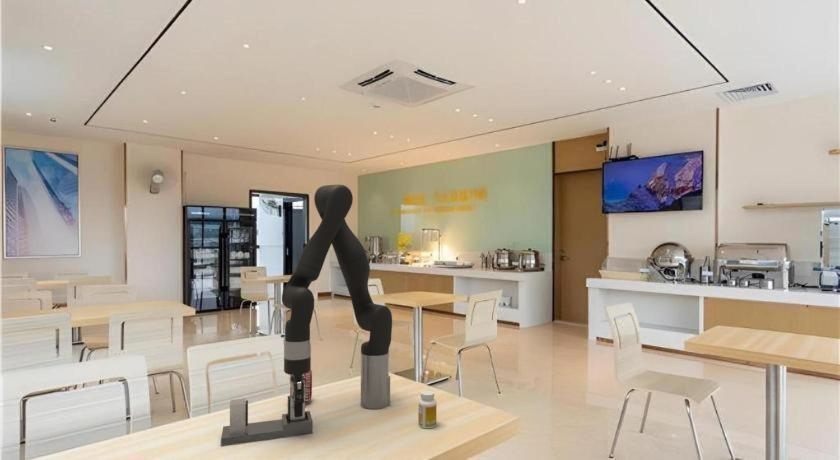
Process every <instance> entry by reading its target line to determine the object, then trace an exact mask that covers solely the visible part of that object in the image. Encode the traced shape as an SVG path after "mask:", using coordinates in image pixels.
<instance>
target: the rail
mask: <svg viewBox="0 0 840 460" xmlns="http://www.w3.org/2000/svg"><path fill="white" fill-rule="evenodd" d="M287 415H288V412H286V413H282V414H281V418H280V419H272V420H266V421H265V420H264V421H259V422H258V421H257V422H249V400H247V398H245V397H244V398H236V399H230V402H229V425H224V426H223V427H222V432H221V439H220V440H221V441H220V446H221V447H224V446H231V445H238V444H245V443H252V442H259V441H260V442H261V441H268V440H275V439H281V438H282V439H283V438H288V437H289V438H290V437H297V436H303V435H305V436H306V435H311V434H313V433H314V432H313V431H314V429H313V427H314V425H313V423H314V421H313V417H312V415H311V411H310V410H307V411H306V410H305V421H299V422H292V423H290V421H288V417H287Z"/></svg>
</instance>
